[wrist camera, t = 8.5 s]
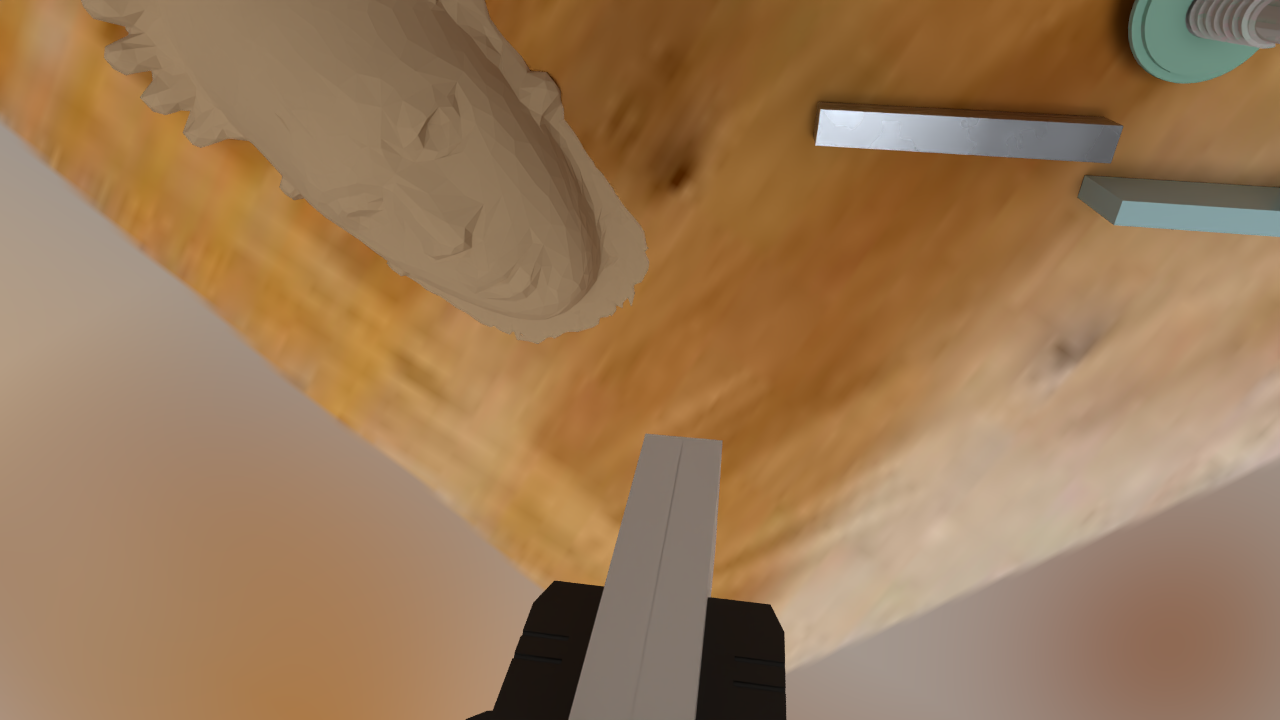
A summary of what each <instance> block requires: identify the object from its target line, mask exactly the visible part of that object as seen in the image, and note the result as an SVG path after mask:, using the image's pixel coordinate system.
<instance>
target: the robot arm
mask: <svg viewBox="0 0 1280 720" xmlns="http://www.w3.org/2000/svg"><path fill="white" fill-rule="evenodd" d="M721 454H722V441H721V440H710V439H698V438H687V437H676V436H665V435H654V434H645V438H644V442H643V445H642V449H641V453H640V457H639V460H638V464H637V468H636V471H635V475H634V479H633V482H632V486H631V490H630V494H629V497H628V501H627V505H626V508H625V512H624V516H623V519H622V523H621V527H620V531H619V534H618V538H617V542H616V545H615V549H614V553H613V556H612V560H611V564H610V568H609V571H608V575H607V579H606V582H605V586H604V587H603V586H595V585H587V584H578V583H570V582H562V581H554V582H553V583H552V584H551V585H550V586H549V587H548V588H547V589H546V590H545V591H544V592H543V593H542V594H541V595H540V596H539V597H538V599H537V600H536V601H535V602H534V603H533V605H532V608H531V610H530V613H529V616H528V618H527V621H526V624H525V626H524V629H523V635H522V636H521V637H520V640H519V643H518V645H517V648H516V650H515V655H514V659H512V661H511V664H510V666H509V669H508V672H507V674H506V677H505V679H504V682H503V685H502V687H501V690H500V693H499V696H498V698H497V701H496V703H495V706H494V709H493V711H486V712H483V713H481V714H478V715H475V716H473V717H470V718H468V719H466V720H786V694H785V688H786V687H785V641H784V631H783V629H782V627H781V625H780V623H779V621H778V619H777V617H776V615H775V613H774V611H773V609H772V607H771V605H770V604H761V603H753V602H744V601H736V600H728V599H719V598H711V588H712V577H713V567H714V556H715V545H716V530H717V514H718V499H719V484H720V469H721Z"/></svg>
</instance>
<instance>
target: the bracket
mask: <svg viewBox="0 0 1280 720" xmlns="http://www.w3.org/2000/svg"><path fill="white" fill-rule="evenodd" d="M1078 198H1079V199H1080V200H1082V201H1083V202H1084V203H1086V204H1087V205H1088V206H1090V207H1091V208H1092V209H1094V210H1095V211H1096V212H1097V213H1099V214H1100V215H1101V216H1103V217H1104V218H1105V219H1107V220H1108V221H1109V222H1111V223H1112V224H1113V225H1120V226H1134V227H1149V228H1163V229H1177V230H1191V231H1205V232H1219V233H1233V234H1247V235H1262V236H1276V237H1280V188H1279V187H1263V186H1247V185H1231V184H1215V183H1199V182H1183V181H1167V180H1152V179H1136V178H1120V177H1104V176H1088V175H1085V176H1084V179H1083V182H1082V186H1081V189H1080V192H1079V195H1078Z"/></svg>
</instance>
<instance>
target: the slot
mask: <svg viewBox="0 0 1280 720" xmlns="http://www.w3.org/2000/svg"><path fill="white" fill-rule="evenodd" d="M1122 129H1123V125H1120V124H1118V123H1116V122H1114V121H1112V120H1109V119H1107V118H1105V117H1096V116H1077V115H1058V114H1040V113H1021V112H1002V111H983V110H965V109H946V108H927V107H908V106H889V105H871V104H852V103H833V102H818V106H817V113H816V120H815V127H814V135H813V137H814V141H815V145H817V146H834V147H850V148H867V149H883V150H900V151H916V152H933V153H949V154H966V155H982V156H998V157H1015V158H1031V159H1048V160H1064V161H1081V162H1097V163H1111V161H1112V158H1113V155H1114V152H1115V149H1116V146H1117V143H1118V141H1119V138H1120V135H1121V132H1122Z"/></svg>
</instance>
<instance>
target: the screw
mask: <svg viewBox="0 0 1280 720" xmlns="http://www.w3.org/2000/svg"><path fill="white" fill-rule="evenodd" d="M1128 39H1129V44H1130V48H1131V51H1132V53H1133V56H1134V58H1135V59H1136V61H1137V62H1138V64H1139V65H1140V66H1141V67H1142V68H1143V69H1144V70H1145V71H1147V72H1148V73H1150V74H1151V75H1152V76H1155V77H1157V78H1159V79H1162V80H1165V81H1169V82H1174V83H1197V82H1202V81H1206V80H1210V79H1213V78H1216V77H1218V76H1221V75H1223V74H1225V73H1227V72H1229V71H1231V70H1233V69H1234V68H1236V67H1237V66H1239V65H1240V64H1242V63H1243V62H1245V61H1246V60H1247V59H1248V58H1250V57H1251V56H1252V55H1253V54H1254V53H1255V52H1256V51H1257V50H1258V49H1259V48H1272V47H1275V43H1278V44H1280V0H1135V2H1134V4H1133V7H1132V10H1131V14H1130V18H1129V25H1128Z"/></svg>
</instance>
